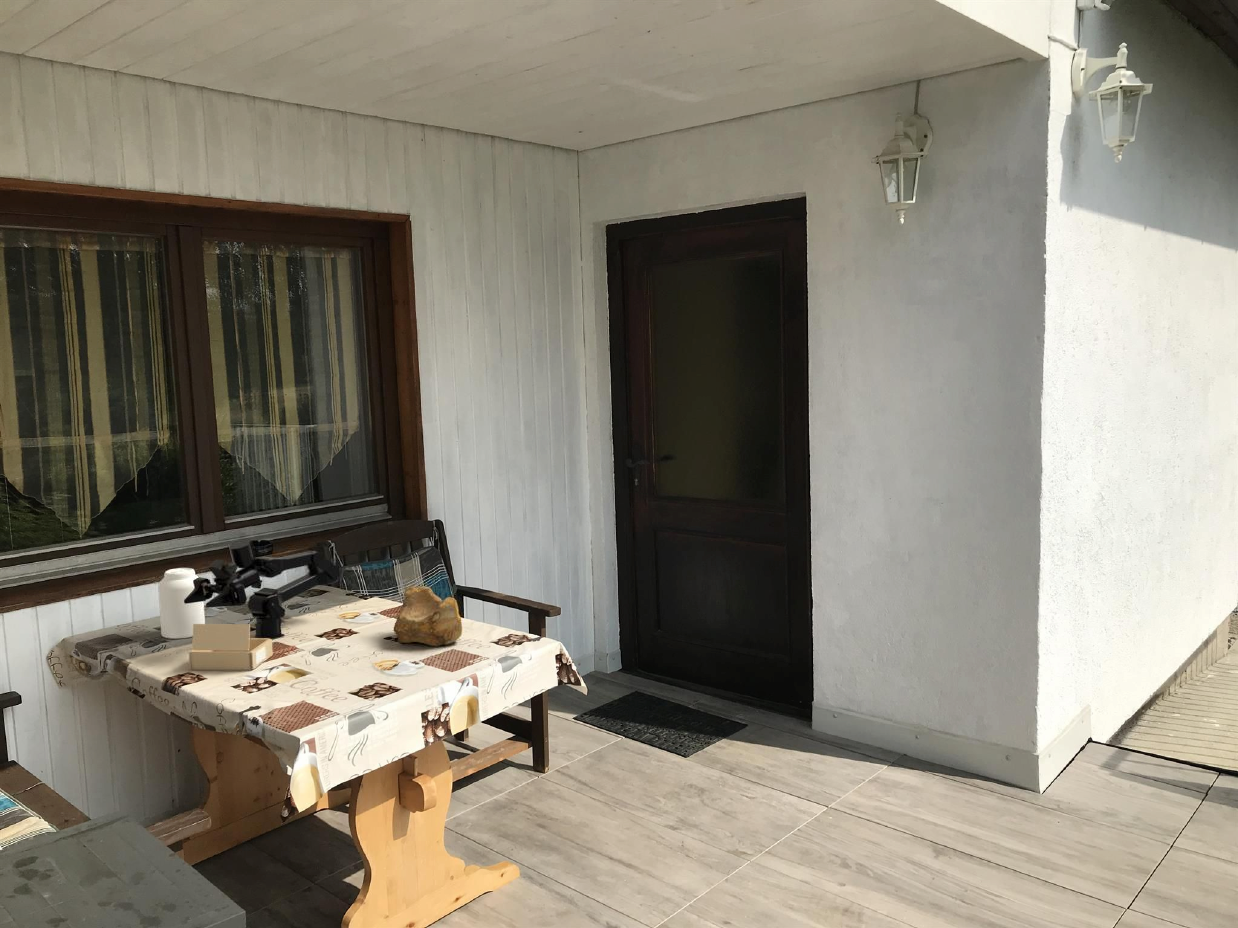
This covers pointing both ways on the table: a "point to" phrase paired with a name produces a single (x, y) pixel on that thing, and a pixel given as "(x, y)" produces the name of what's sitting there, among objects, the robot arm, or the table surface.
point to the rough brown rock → (427, 618)
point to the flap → (221, 637)
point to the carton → (232, 657)
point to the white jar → (178, 604)
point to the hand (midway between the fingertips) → (195, 603)
